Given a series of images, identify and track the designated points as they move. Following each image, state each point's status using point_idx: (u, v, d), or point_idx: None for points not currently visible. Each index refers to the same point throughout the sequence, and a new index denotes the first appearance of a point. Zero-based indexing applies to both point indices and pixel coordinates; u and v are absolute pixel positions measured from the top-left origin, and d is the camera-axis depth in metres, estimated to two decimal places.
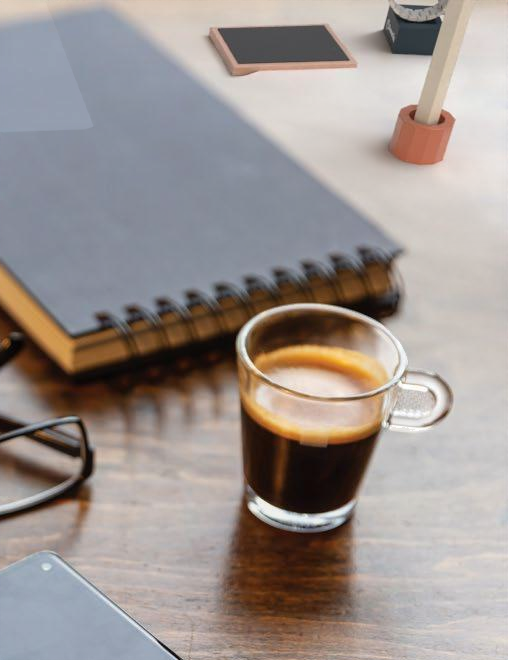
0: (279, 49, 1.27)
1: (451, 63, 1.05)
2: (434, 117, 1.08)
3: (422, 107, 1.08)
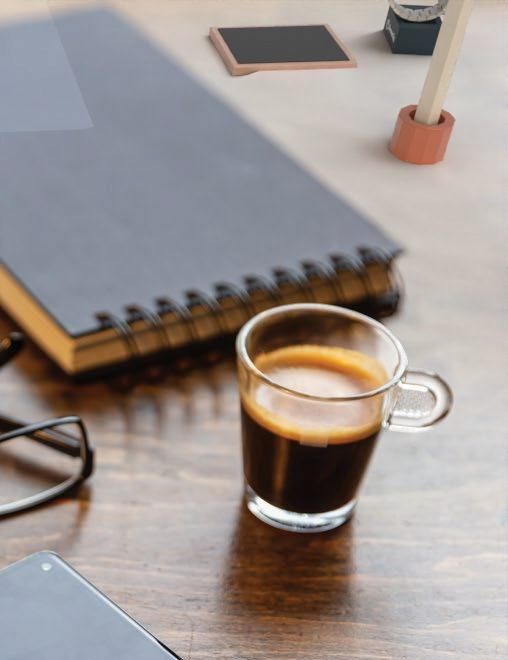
0: (279, 49, 1.27)
1: (451, 63, 1.05)
2: (434, 117, 1.08)
3: (422, 107, 1.08)
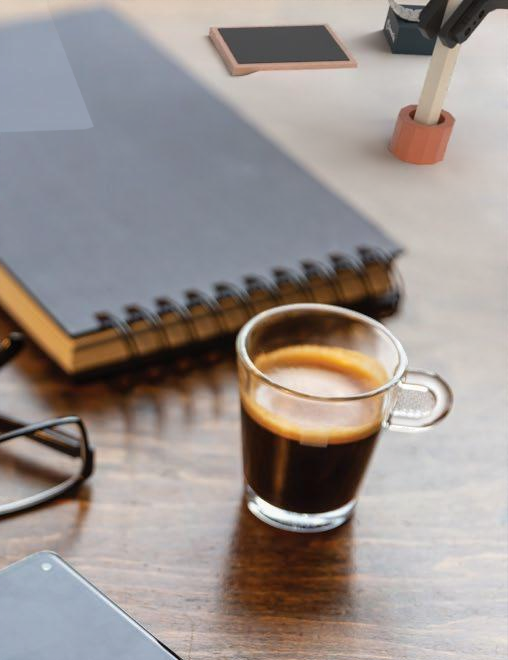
0: (279, 49, 1.27)
1: (451, 63, 1.05)
2: (434, 117, 1.08)
3: (422, 107, 1.08)
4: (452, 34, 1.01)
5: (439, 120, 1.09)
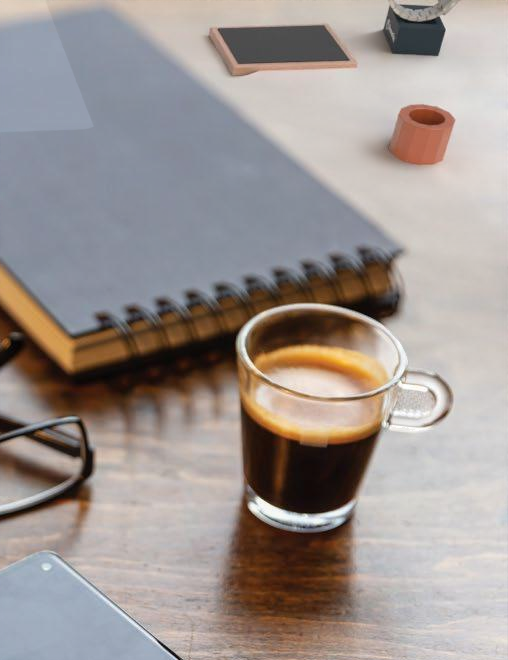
0: (279, 49, 1.27)
1: None
2: None
3: None
4: None
5: (439, 120, 1.09)
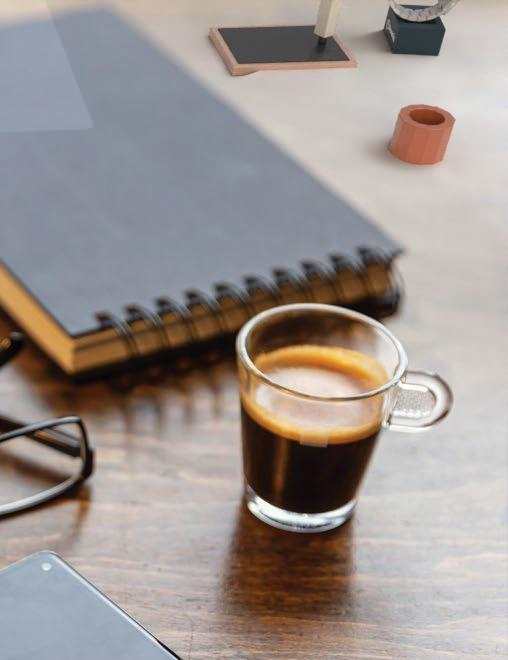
0: (279, 49, 1.27)
1: None
2: None
3: None
4: None
5: (439, 120, 1.09)
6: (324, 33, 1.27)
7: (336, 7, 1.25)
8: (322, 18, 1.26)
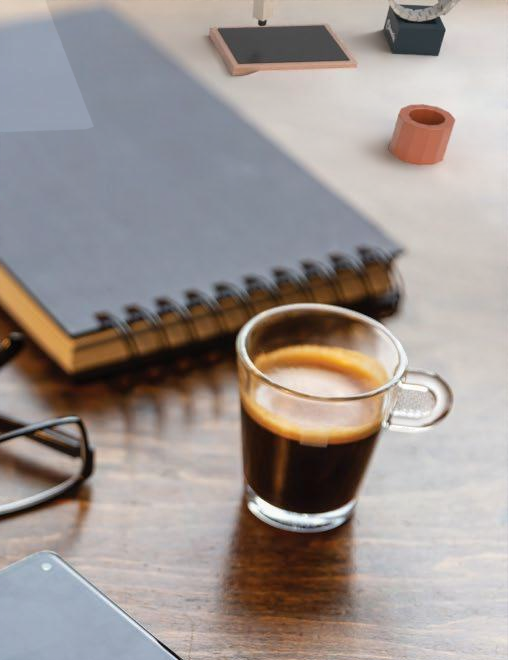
0: (279, 49, 1.27)
1: None
2: None
3: None
4: None
5: (439, 120, 1.09)
6: (262, 17, 1.26)
7: None
8: (258, 2, 1.26)
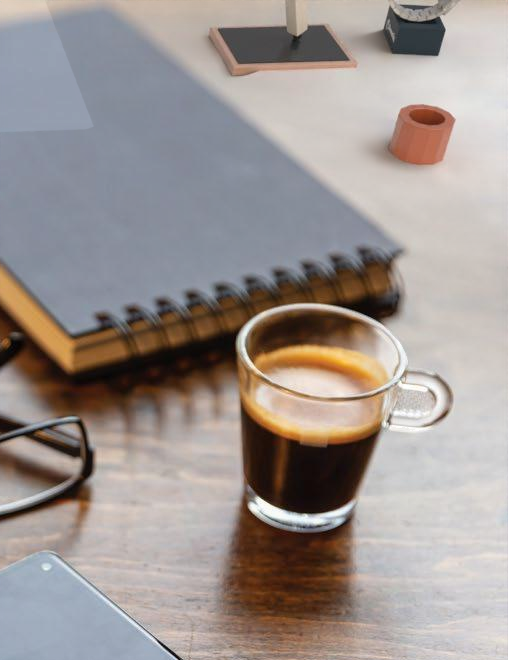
0: (279, 49, 1.27)
1: None
2: None
3: None
4: None
5: (439, 120, 1.09)
6: (296, 32, 1.27)
7: (302, 7, 1.25)
8: (290, 19, 1.27)
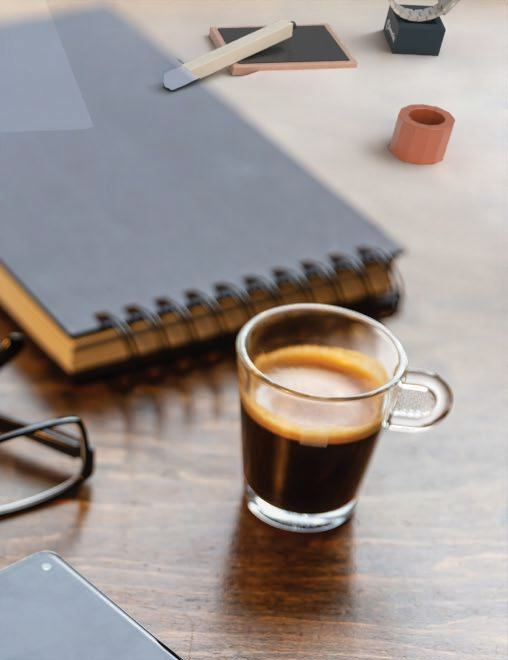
0: (279, 49, 1.27)
1: (225, 60, 1.24)
2: (262, 43, 1.26)
3: None
4: None
5: (439, 120, 1.09)
6: None
7: (270, 39, 1.26)
8: None
